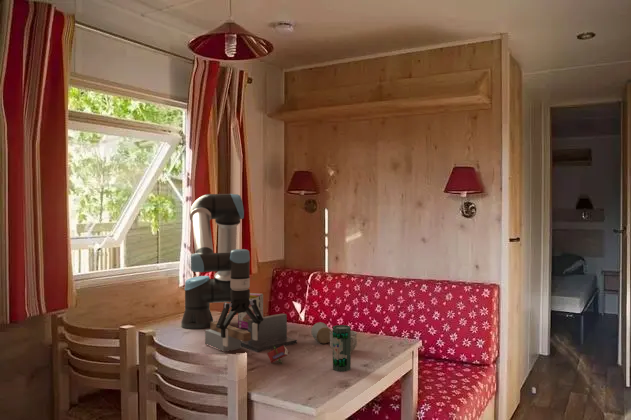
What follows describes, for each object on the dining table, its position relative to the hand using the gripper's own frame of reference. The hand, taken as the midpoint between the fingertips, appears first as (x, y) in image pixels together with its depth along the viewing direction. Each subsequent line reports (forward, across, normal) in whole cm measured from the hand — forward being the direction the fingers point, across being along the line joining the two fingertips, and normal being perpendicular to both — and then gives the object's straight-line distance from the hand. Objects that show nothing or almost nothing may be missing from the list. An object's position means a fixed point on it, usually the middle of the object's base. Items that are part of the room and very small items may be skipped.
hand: (240, 342), depth 210 cm
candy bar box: (+4, +26, +32) cm, 41 cm away
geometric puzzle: (+4, +4, -19) cm, 20 cm away
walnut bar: (-2, 0, +8) cm, 8 cm away
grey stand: (+4, 0, +14) cm, 14 cm away
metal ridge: (+4, +16, +4) cm, 17 cm away
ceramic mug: (+4, +37, -8) cm, 38 cm away
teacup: (+4, +32, -26) cm, 41 cm away
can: (+4, +17, -40) cm, 44 cm away
